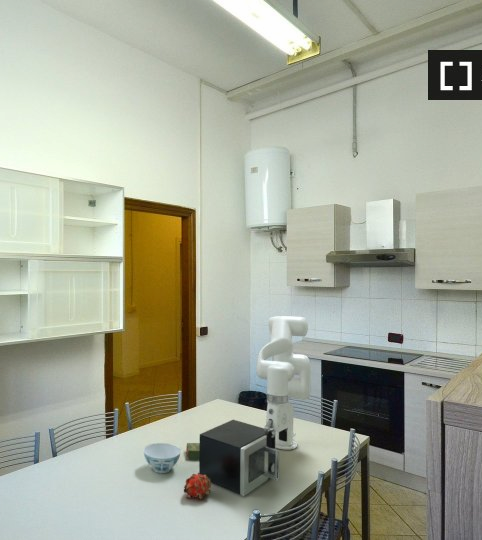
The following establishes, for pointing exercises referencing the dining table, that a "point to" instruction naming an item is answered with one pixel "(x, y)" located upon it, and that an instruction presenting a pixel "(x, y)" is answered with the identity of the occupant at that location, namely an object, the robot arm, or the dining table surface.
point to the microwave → (227, 452)
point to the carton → (193, 451)
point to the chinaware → (162, 456)
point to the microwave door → (256, 465)
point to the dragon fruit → (197, 486)
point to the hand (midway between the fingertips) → (276, 444)
